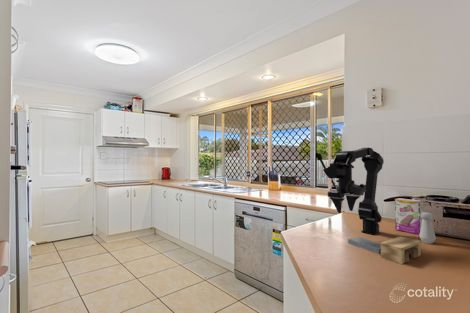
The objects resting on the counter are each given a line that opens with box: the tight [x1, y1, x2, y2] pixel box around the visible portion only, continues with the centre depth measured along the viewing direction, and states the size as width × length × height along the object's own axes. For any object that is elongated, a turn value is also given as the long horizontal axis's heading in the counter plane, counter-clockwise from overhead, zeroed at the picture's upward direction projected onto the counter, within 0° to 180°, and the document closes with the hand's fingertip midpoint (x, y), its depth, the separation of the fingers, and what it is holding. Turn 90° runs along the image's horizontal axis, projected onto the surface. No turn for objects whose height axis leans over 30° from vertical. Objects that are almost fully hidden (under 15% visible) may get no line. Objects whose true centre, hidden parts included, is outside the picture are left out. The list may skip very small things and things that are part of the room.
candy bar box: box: [394, 197, 424, 236], centre depth 125 cm, size 11×5×16 cm, turn 34°
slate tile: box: [347, 236, 382, 255], centre depth 103 cm, size 14×7×2 cm, turn 25°
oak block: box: [380, 235, 421, 265], centre depth 92 cm, size 7×15×6 cm, turn 122°
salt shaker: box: [418, 211, 437, 245], centre depth 109 cm, size 6×6×13 cm
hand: (345, 211), depth 113 cm, fingers open, 9 cm apart
